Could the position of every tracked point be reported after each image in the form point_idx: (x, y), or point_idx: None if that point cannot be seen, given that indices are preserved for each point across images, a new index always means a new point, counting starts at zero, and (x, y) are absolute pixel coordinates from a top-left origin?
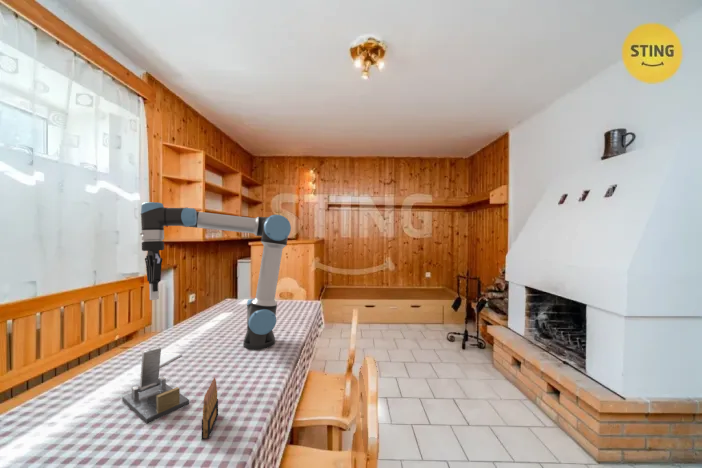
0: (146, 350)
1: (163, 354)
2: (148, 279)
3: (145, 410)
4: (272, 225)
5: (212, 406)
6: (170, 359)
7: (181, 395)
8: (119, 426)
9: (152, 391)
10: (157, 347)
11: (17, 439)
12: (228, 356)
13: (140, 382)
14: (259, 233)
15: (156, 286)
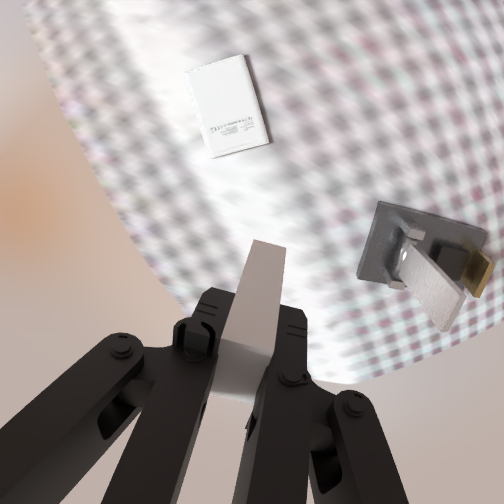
0: (445, 324)
1: (192, 86)
2: (142, 407)
3: None
4: None
5: None
6: (253, 95)
7: (466, 228)
8: (422, 310)
9: (400, 242)
10: (458, 301)
11: (311, 371)
12: (389, 4)
13: (403, 280)
14: None
15: (304, 356)
